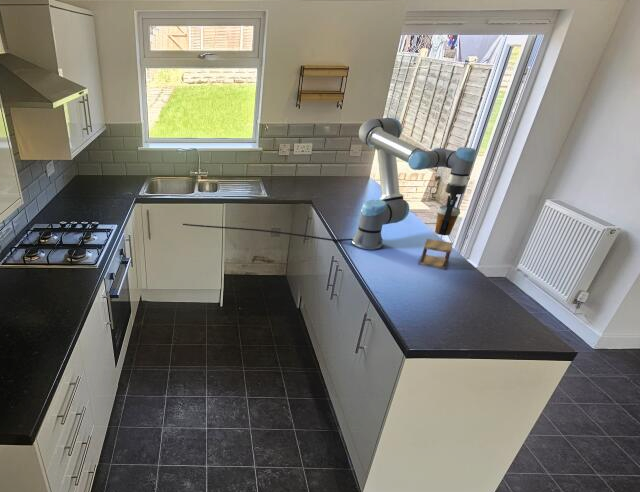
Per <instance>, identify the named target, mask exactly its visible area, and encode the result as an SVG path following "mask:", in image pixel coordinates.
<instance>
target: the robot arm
mask: <svg viewBox="0 0 640 492" xmlns="http://www.w3.org/2000/svg"><path fill="white" fill-rule="evenodd" d="M402 133H403V127H402V123H401V122H400V121H399V120H398V119H397V118H395V117H382V118H380V117H379V118H371V119H368V120H366V121H364V122H363V123H362V124H361V125H360V127H359V130H358V137H359V140H360V141H361V142H362V143H363V144H365V145H366V146H368V147H373V148H374V149H375V150H376V152H377V161H378V170H379V171H378V172H379V181H380V188H381V196H380V198H379V199H370V200H367V201H365V202H364V203H363V204H362V208H361V210H360V215H359V216H360V217H359V221H358V227H357V230H356V232H355V234H354V236H353V238H328V237H321V236H316V235H315V236H314V235H307V234H302V233H294V232H286V231H279V230H270V229H259V228H248V227H247V228H246V227H235V226H219V225H207V224H206V225H205V224H195V223H194V224H192V223H184V222H183V223H182V226H188V227H199V228H212V229H213V228H214V229H227V230H241V231H242V230H243V231H252V232H253V231H254V232H264V233H265V232H266V233H273V234H282V235H283V234H284V235H291V236H296V237H297V236H298V237H304V238H311V239H316V240H324V241H329V242H330V241H332V242H345V241H346V242H347V241H351V244H352V246H354V247H355V248H358V249H362V250H367V251H369V250H370V251H375V250H379V249H381V248H382V246H383V237H382V229H383V226H384V225H389V224H397V223H400V222H402V221H405V219H406V218H407V217H408V215H409V214H410V204H409V202H407V200H406V199H404V195H403V194H402V193H400V184H399V172H398V171H399V170H398V163H397V162H398V161H397V158H398V160H399V159H400V160H401V161H403V162H405V163H407V164H408V167H409V168H410V169H411V170H414V171H416V170H417V171H421V170H427V169H435V168H446V169H450V173H449V176H448V180H447V184H446V187H445V192H446V193H447V194H450V195H448V196H447V199H446V205H445V206H446V207H447V209H446V212H445V216H444V219H443V220H441V221H442V225H441V228H440V232H439V234H438V235H440V236H446V235H445V234H446V231H447V227H448V224H449V221H450V216H451V213H452V210H453V208H454V207H455V206H456V203H457V202H458V198H459V196H458V195H464V194H465V191H466V187H467V184H468V181H470V178H471V177H470V173H471V170H472V167H473V165H474V162H475V157H476V153H477V150H476V149H475V148H473V147H465V146H462V147H458V148H457V149H456V150H453V149H447V148H444V147H434V148H433V149H432V150H425V149H422V148H420V147H418V146H416V145H414V144H412V143H410V142H408V141H406V140H404V139H401V135H402Z"/></svg>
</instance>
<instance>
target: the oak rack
mask: <svg viewBox="0 0 640 492" xmlns="http://www.w3.org/2000/svg"><path fill="white" fill-rule="evenodd" d="M453 244H454V242H450V241H443V240H439V239H432V238H426V241H425V244H424V246H423V251H422V253H421V257H420V260H419V265H422V266H427V267H432V268H437V269H442V270H446V268H447V264H448V262H449V259H450V255H451V253H452V249H453V246H454V245H453ZM428 250H430V251H435V252H442V253H445V256H444V257H441V256H435V255H430V254H427V253H428Z"/></svg>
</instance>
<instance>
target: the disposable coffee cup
mask: <svg viewBox="0 0 640 492" xmlns="http://www.w3.org/2000/svg"><path fill="white" fill-rule="evenodd" d="M446 209H447V207H446V205H440V206H439V207H438V208H437V217H436V223H435V231H434V233H435V234H436V235H439V232H440V228H441V225H442V221H441V220H443V219H444V216H445V212H446ZM459 215H461V209H460V208H459V207H454V208H453V210H452V213H451V216H450V221H449V224H448V227H447V231H446V234H445V235H444V236H450V235H451V232H452V230H453V228H454V227H455V223H456V222H457V219H458V217H459Z"/></svg>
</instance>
